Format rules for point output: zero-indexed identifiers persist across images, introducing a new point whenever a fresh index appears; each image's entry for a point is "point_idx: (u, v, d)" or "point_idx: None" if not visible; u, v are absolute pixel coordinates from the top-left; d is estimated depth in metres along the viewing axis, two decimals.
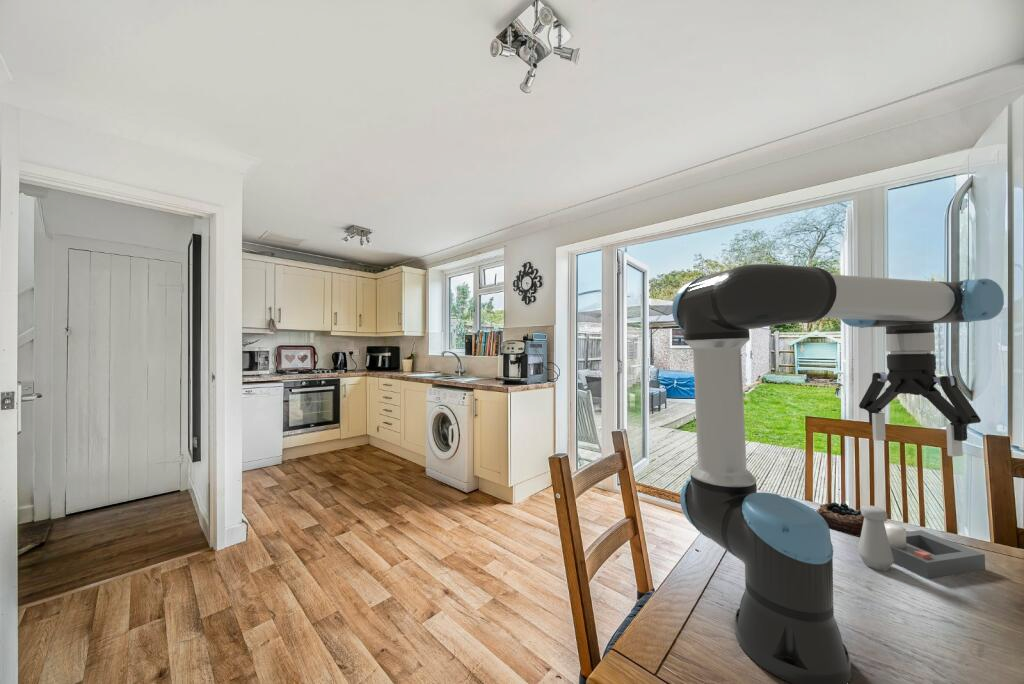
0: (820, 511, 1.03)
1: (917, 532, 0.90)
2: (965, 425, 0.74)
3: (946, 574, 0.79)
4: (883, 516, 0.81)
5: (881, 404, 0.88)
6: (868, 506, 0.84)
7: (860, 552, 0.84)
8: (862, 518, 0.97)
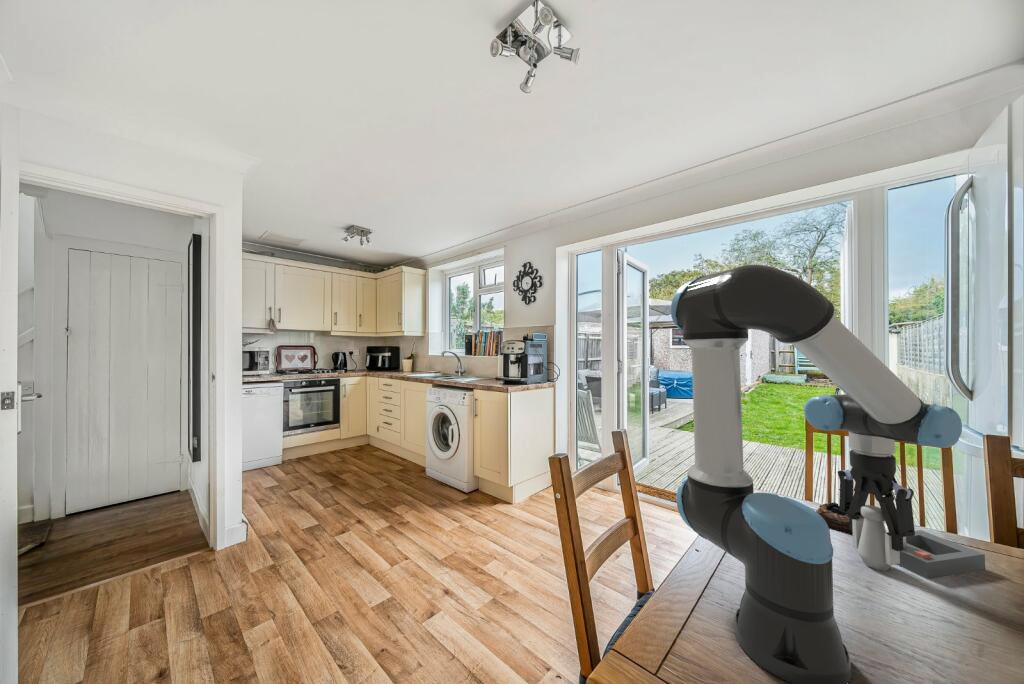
0: (820, 511, 1.03)
1: (917, 532, 0.90)
2: (901, 536, 0.78)
3: (946, 574, 0.79)
4: (883, 516, 0.81)
5: (857, 507, 0.86)
6: (868, 506, 0.84)
7: (860, 552, 0.84)
8: (862, 518, 0.97)
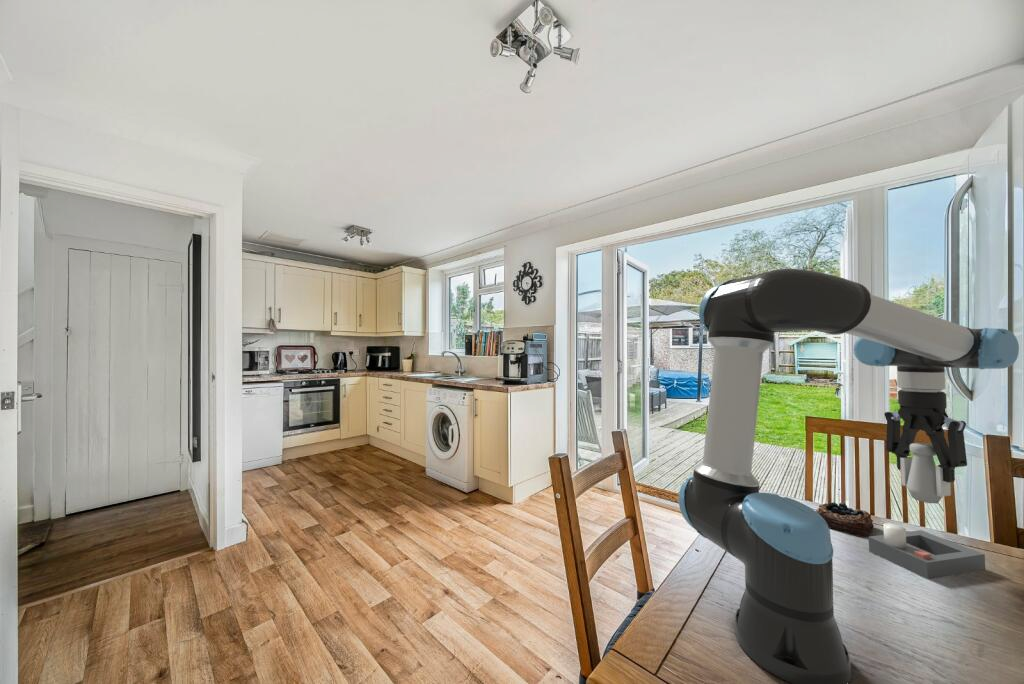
0: (820, 511, 1.03)
1: (917, 532, 0.90)
2: (953, 468, 0.80)
3: (946, 574, 0.79)
4: (933, 450, 0.83)
5: (906, 445, 0.88)
6: (917, 443, 0.86)
7: (910, 487, 0.86)
8: (862, 518, 0.97)
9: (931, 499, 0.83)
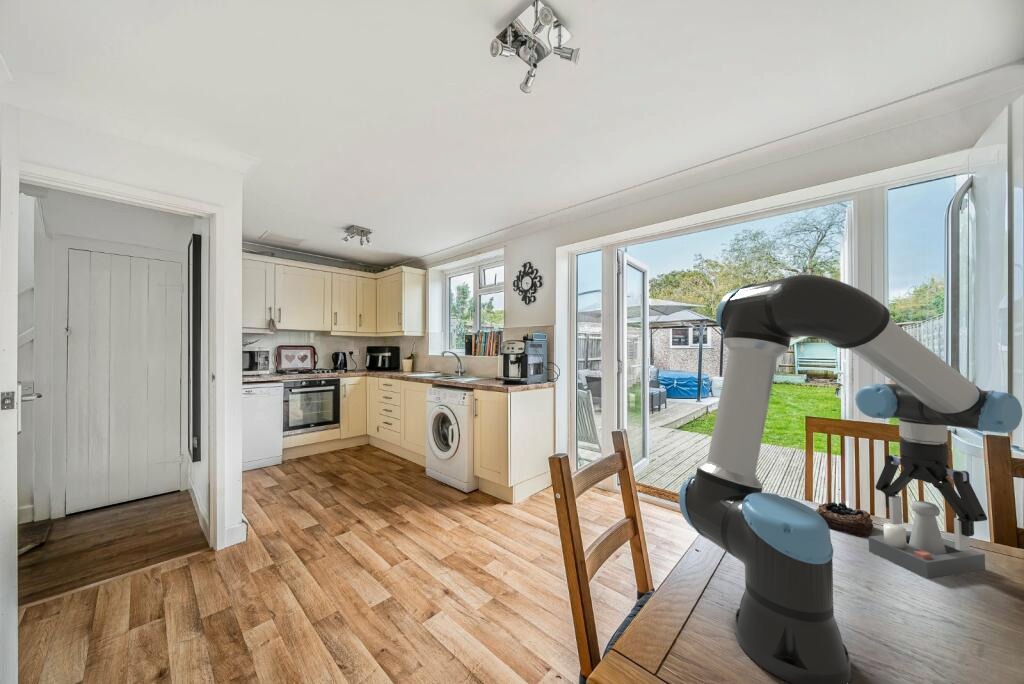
0: (820, 511, 1.03)
1: None
2: (972, 521, 0.78)
3: (946, 574, 0.79)
4: (935, 511, 0.83)
5: (897, 488, 0.90)
6: (919, 501, 0.86)
7: None
8: (861, 518, 0.97)
9: None
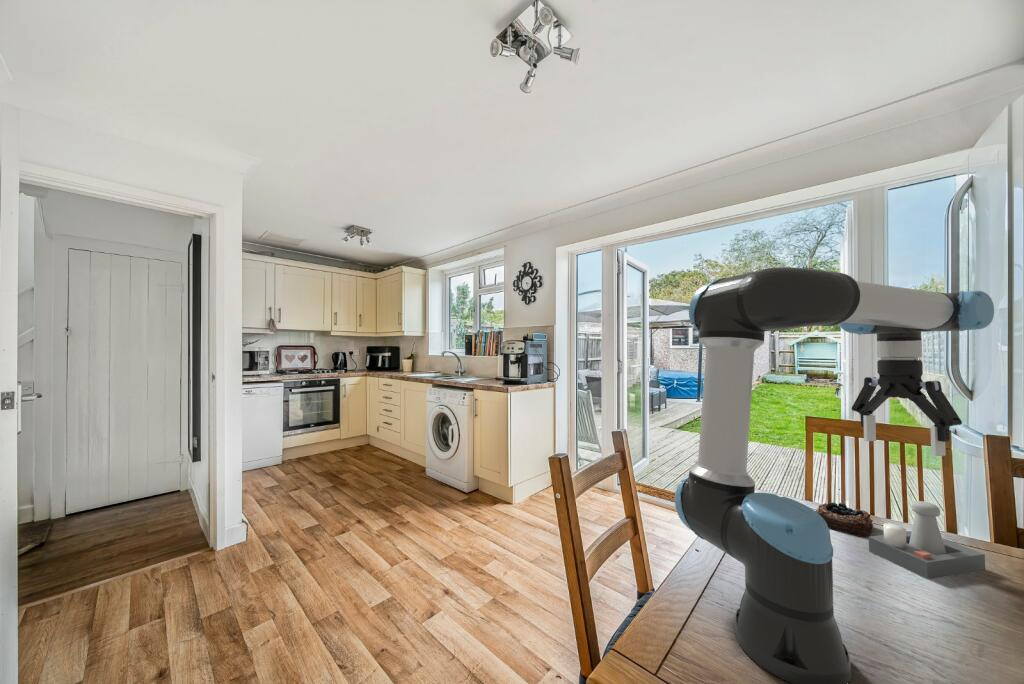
0: (820, 511, 1.03)
1: None
2: (948, 427, 0.80)
3: (946, 574, 0.79)
4: (936, 511, 0.83)
5: (872, 407, 0.94)
6: (920, 502, 0.86)
7: None
8: (862, 518, 0.97)
9: None
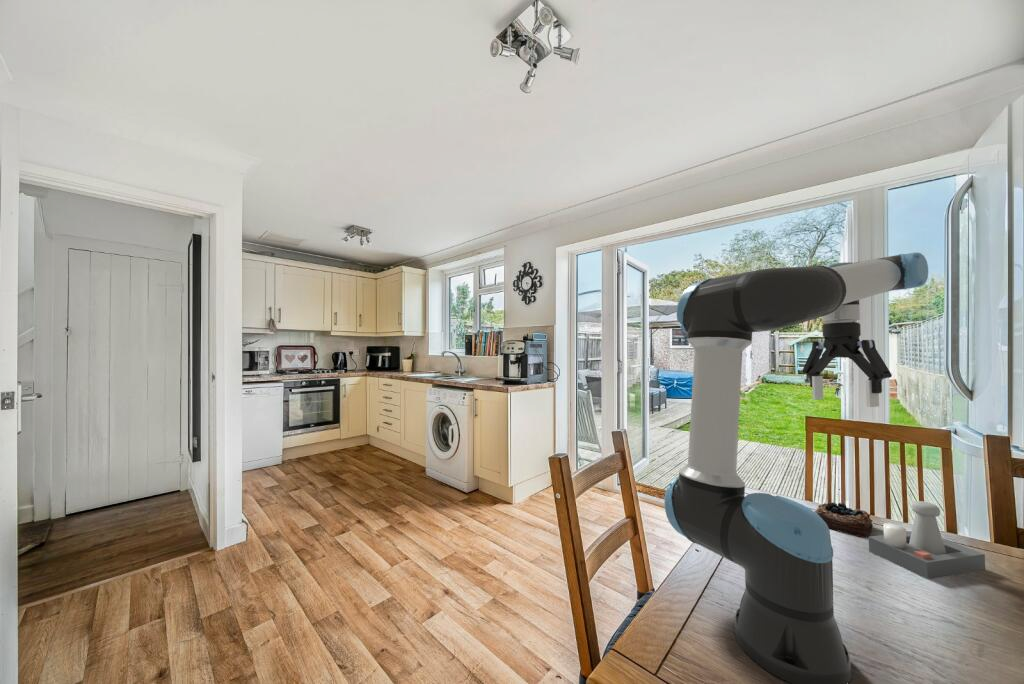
0: (819, 511, 1.03)
1: None
2: (880, 380, 0.89)
3: (946, 574, 0.79)
4: (936, 511, 0.83)
5: (819, 368, 1.02)
6: (920, 502, 0.86)
7: None
8: (861, 518, 0.97)
9: None
